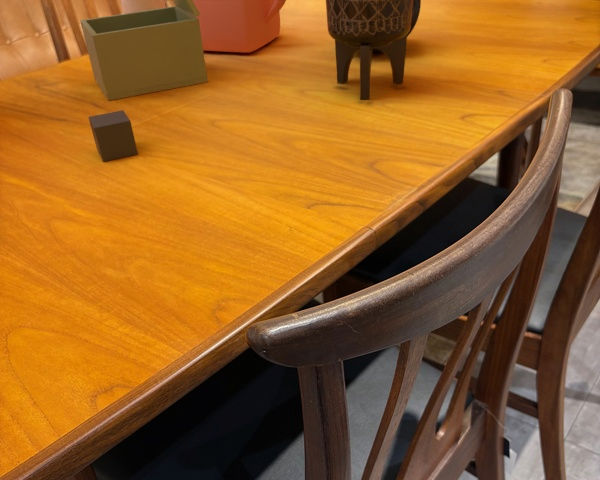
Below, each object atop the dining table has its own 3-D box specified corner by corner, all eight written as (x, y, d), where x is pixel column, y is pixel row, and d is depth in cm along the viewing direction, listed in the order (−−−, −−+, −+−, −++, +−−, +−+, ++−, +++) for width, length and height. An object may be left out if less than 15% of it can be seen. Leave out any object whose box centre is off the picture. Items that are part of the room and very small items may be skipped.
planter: (309, 92, 95) (303, -37, 84) (359, 70, 102) (359, -51, 92) (378, 107, 88) (381, -32, 77) (426, 82, 95) (435, -47, 85)
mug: (133, 43, 126) (119, -22, 119) (174, 39, 127) (163, -26, 120) (128, 58, 117) (113, -11, 110) (173, 54, 118) (161, -15, 110)
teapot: (274, 57, 111) (268, -28, 103) (171, 52, 119) (157, -28, 110) (313, 31, 126) (310, -46, 118) (219, 27, 133) (210, -45, 125)
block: (103, 162, 78) (93, 127, 75) (97, 150, 81) (88, 116, 78) (138, 154, 79) (130, 120, 76) (130, 142, 82) (123, 109, 80)
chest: (108, 100, 97) (92, 35, 91) (95, 80, 107) (79, 20, 101) (207, 81, 102) (198, 18, 96) (187, 64, 112) (177, 5, 106)
